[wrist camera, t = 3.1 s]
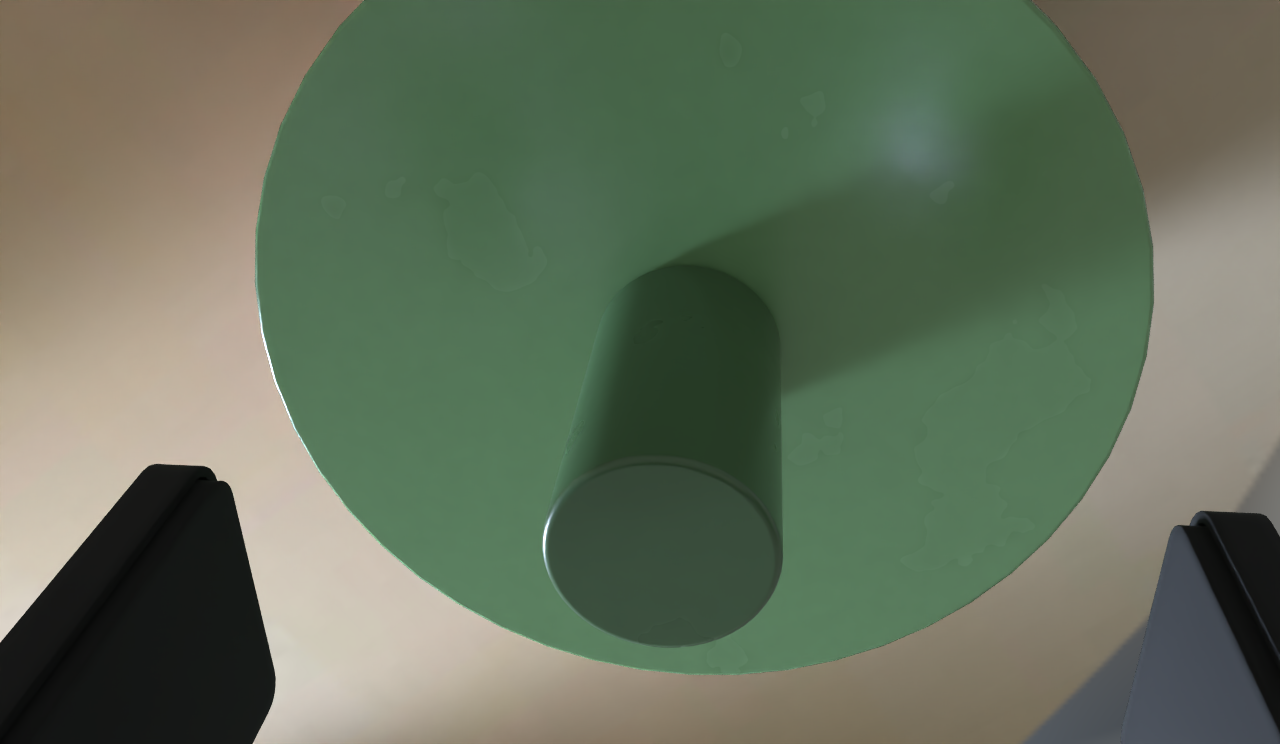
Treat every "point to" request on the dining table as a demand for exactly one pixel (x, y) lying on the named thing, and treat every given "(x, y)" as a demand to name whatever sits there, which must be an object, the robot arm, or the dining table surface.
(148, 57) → the dining table surface
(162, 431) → the dining table surface
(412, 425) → the lid
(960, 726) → the dining table surface
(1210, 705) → the robot arm
